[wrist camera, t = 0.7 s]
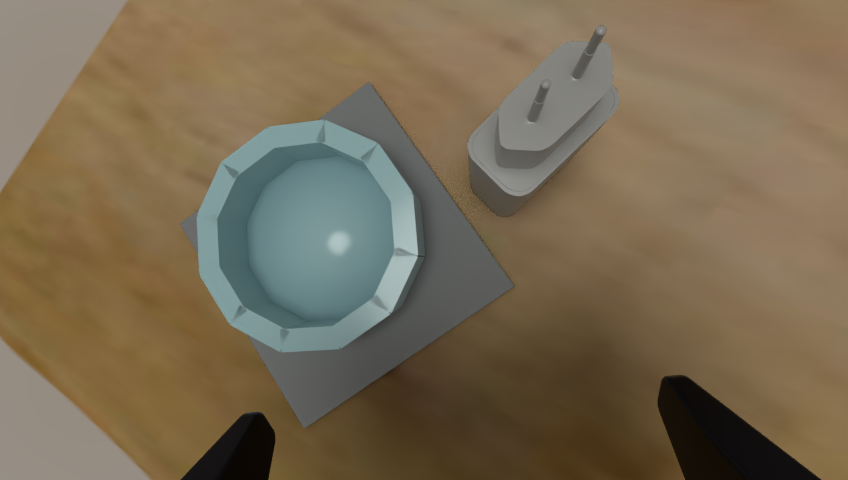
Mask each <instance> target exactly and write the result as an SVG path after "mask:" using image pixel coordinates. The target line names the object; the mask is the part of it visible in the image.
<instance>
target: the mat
mask: <svg viewBox="0 0 848 480" xmlns="http://www.w3.org/2000/svg"><path fill="white" fill-rule="evenodd" d="M319 120H327V121H329V122H332V123H334V124H336V125H338V126H341V127H343V128H345V129H348V130H350V131H352V132H354V133H357V134H359V135H361V136H363V137H366V138H368V139H370V140H373V141H375V142H377V143H378V144H379V145H380V146H381V147H382V148H383V149H384V151H385V152H386V153H387V154H388V155H389V157H390V158H391V159H392V161H393V162H394V164H395V165H396V166H397V168H398V169H399V171H400V172H401V174H402V175H403V176H404V178H405V179H406V181H407V182H408V184H409V185H410V186H411V188H412V189H413V191H414V192H415V194H416V195H417V196H418V198H419V199H420V201H421V210H422V223H423V229H424V247H425V256H423V257H425V258H424V260H423V263H422V265H421V267H420V269H419V271H418V273H417V275H416V278H415V280H414V282H413V284H412V286H411V288H410V290H409V292H408V295H407V297H406V299H405V301H404V303H403V305H402V307H401V308H400V309H398V310H397V311H395V312H394V313H393V314H391V315H390V316H388V317H387V318H385V319H384V320H382V321H381V322H380V323H378V324H377V325H375V326H374V327H372V328H371V329H369V330H368V331H367V332H365V333H364V334H362V335H361V336H359V337H358V338H356V339H355V340H353V341H352V342H350V343H349V344H347V345H346V346H344V347H343V348H340V349H334V350H316V351H298V352H279V351H277V350H275V349H273V348H272V347H270V346H268V345H266V344H264V343H262V342H261V341H259V340H257V339H255V338H253V337H251V336H249V335H248V334H247V335H248V337H249V339H250V340H251V342H252V344H253V345H254V347H255V349H256V350H257V352H258V353H259V355H260V357H261V358H262V360H263V362H264V363H265V365H266V367H267V368H268V370H269V372H270V373H271V375H272V377H273V378H274V380H275V381H276V383H277V385H278V386H279V388H280V390H281V391H282V393H283V395H284V396H285V398H286V400H287V401H288V403H289V405H290V406H291V408H292V409H293V411H294V413H295V414H296V416H297V418H298V419H299V421H300V423H301V424H302V426H303V428H304V429H305V428H306V427H307V426H309V425H310V424H312V423H313V422H315V421H316V420H318V419H319V418H321V417H322V416H324V415H325V414H327V413H328V412H330V411H331V410H333V409H334V408H336V407H337V406H338V405H340V404H341V403H343V402H344V401H346V400H347V399H349V398H350V397H352V396H353V395H355V394H356V393H358V392H359V391H361V390H362V389H364V388H365V387H366V386H368V385H369V384H371V383H372V382H374V381H375V380H377V379H378V378H380V377H381V376H383V375H384V374H386V373H387V372H389V371H390V370H392V369H393V368H394V367H396V366H397V365H399V364H400V363H402V362H403V361H405V360H406V359H408V358H409V357H411V356H412V355H414V354H415V353H417V352H418V351H420V350H421V349H422V348H424V347H425V346H427V345H428V344H430V343H431V342H433V341H434V340H436V339H437V338H439V337H440V336H442V335H443V334H445V333H446V332H448V331H449V330H451V329H452V328H453V327H455V326H456V325H458V324H459V323H461V322H462V321H464V320H465V319H467V318H468V317H470V316H471V315H473V314H474V313H476V312H477V311H479V310H480V309H481V308H483V307H484V306H486V305H487V304H489V303H490V302H492V301H493V300H495V299H496V298H498V297H499V296H501V295H502V294H504V293H505V292H507V291H508V290H509V289H511V288H512V287H514V285H513V284H512V282H511V281H510V280H509V278H508V277H507V275H506V274H505V273H504V271H503V270H502V268H501V267H500V266H499V264H498V263H497V261H496V260H495V259H494V257H493V256H492V254H491V253H490V251H489V250H488V249H487V247H486V246H485V244H484V243H483V242H482V240H481V239H480V237H479V236H478V235H477V233H476V232H475V230H474V229H473V228H472V226H471V225H470V223H469V222H468V221H467V219H466V218H465V216H464V215H463V214H462V212H461V211H460V209H459V208H458V206H457V205H456V204H455V202H454V201H453V199H452V198H451V197H450V195H449V194H448V192H447V191H446V190H445V188H444V187H443V185H442V184H441V183H440V181H439V180H438V178H437V177H436V176H435V174H434V173H433V171H432V170H431V169H430V167H429V166H428V164H427V163H426V161H425V160H424V159H423V157H422V156H421V154H420V153H419V152H418V150H417V149H416V147H415V146H414V145H413V143H412V142H411V140H410V139H409V138H408V136H407V135H406V133H405V132H404V131H403V129H402V128H401V126H400V125H399V124H398V122H397V121H396V119H395V118H394V116H393V115H392V114H391V112H390V111H389V109H388V108H387V107H386V105H385V104H384V102H383V101H382V100H381V98H380V97H379V95H378V94H377V93H376V91H375V90H374V88H373V87H372V86H371V84H370V83H369V82H368V83H366V84H365V85H364V86H362V87H361V88H360V89H358V90H357V91H356V92H354V93H353V94H352V95H351V96H349V97H348V98H347V99H345V100H344V101H343V102H341V103H340V104H339V105H337V106H336V107H335V108H333V109H332V110H331V111H329V112H328V113H327V114H325V115H324V116H323V117H321V118H320V119H319ZM198 211H199V210H198ZM198 211H196V212H195V213H194V214H192V215H191V216H190V217H188V218H187V219H186V220H184V221H183V222H182V223H180V225H181V227H182V228H183V230H184V231H185V233H186V235H187V236H188V238H189V240H190V241H191V243H192V245H193V246H194V248H195V250H196V251H197V253H198V236H197V216H198V215H197V214H198Z"/></svg>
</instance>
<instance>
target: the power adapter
mask: <svg viewBox="0 0 848 480" xmlns="http://www.w3.org/2000/svg"><path fill="white" fill-rule="evenodd" d="M605 33H606V27H605V26H603V25H600V26H598V27H597V28H596V30H595V32H594V34H593V36H592V38H591V40H590V41H589V42H579V41H572V42H567V43H565V44H563V45H561V46H559V47H558V48H557V49H555V50H554V51H553V52H552V53H551V54H550V55H549V56H548V57H547V58H546V59H545V60H544V61H543V62H542V63H541V64H540V65H539V66H538V67H537V68H536V69H535V70H534V71H533V72H532V73H531V74H530V75H529V76H528V77H527V78H526V79H525V80H524V81H523V82H522V83H521V84H520V85H518V86H517V87H516V88H515V89H514V90H513V91H512V92H511V93H510V94H509V95H508V96H507V97H506V99H505V100H504V101H503V102H502V104H501V106H500V107H499V108H498V109H497V110H496V111H495V112H494V113H492V114H491V115H490V116H489V117H488V118H487V119H486V120H485V121H484V122H483V123H482V124H481V125H480V126H479V127H478V128H477V129H476V130H475V131H474V132H473V134H472V135H471V137H470V139H469V141H468V158H469V171H470V184H471V188H472V190H473V192H474V193H475V194H476V195H477V196H478V197H479V198H480V199H481V200H482V201H483V202H484V203H485V204H486V205H487V206H488V207H489V208H490V209H491V210H492V211H493V212H494V213H495V214H496V215H498V216H501V217H509V216H511V215H513V214H514V213H515V212H516V211H518V210H519V209H520V208H521V207H522V206H523V205H524V204H525V203H526V202H527V201H528V200H529V199H530V198H531V197H532V196H533V195H534V194H535V193H536V192H538V191H539V190H540V189H541V188H542V187H543V186H544V185H545V184H546V183H547V182H548V181H549V180H550V179H551V178H552V177H553V176H554V175H555V174H556V173H557V172H559V171H560V170H561V169H562V168H563V167H564V166H565V165H566V164H567V163H568V162H569V161H570V160H571V159H572V158H573V156H574V155H575V154H576V153H577V152H578V151H579V150H580V149H581V148H582V147H583V146H584V145H585V144H586V143H587V141H588V140H589V139H590V138H591V137H592V136H593V135H594V134H595V133H596V132H597V131H598V130H599V129H600V128H601V126H602V125H603V124H604V123H605V122H606V121H607V120H608V119H609V118H610V117H611V116H612V115H613V113H614V112H615V111H616V109H617V107H618V105H619V95H618V92H617V90H616V88H615V87H614V85H613V84H612V82H613V68H612V54H611V48H610V46H609V45H608V44H607V43H604V42H601V40H602V38H603V36H604V35H605Z"/></svg>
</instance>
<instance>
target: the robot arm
mask: <svg viewBox="0 0 848 480" xmlns="http://www.w3.org/2000/svg"><path fill="white" fill-rule="evenodd" d="M658 408H659V412H660V414H661V417H662V420H663V422H664V425H665V428H666V430H667V433H668V436H669V438H670V441H671V443H672V446H673V449H674V451H675V454H676V457H677V459H678V462H679V465H680V467H681V470H682V473H683V475H684V478H685V480H821V479H820V478H818V477H817V476H816V475H814V474H813V473H812V472H811V471H809V470H808V469H807V468H805V467H804V466H803V465H801V464H800V463H799V462H798V461H796V460H795V459H794V458H792V457H791V456H790V455H788V454H787V453H786V452H785V451H783V450H782V449H781V448H779V447H778V446H777V445H775V444H774V443H773V442H772V441H770V440H769V439H768V438H766V437H765V436H764V435H762V434H761V433H760V432H759V431H757V430H756V429H755V428H753V427H752V426H751V425H749V424H748V423H747V422H746V421H744V420H743V419H742V418H740V417H739V416H738V415H736V414H735V413H734V412H733V411H731V410H730V409H729V408H727V407H726V406H725V405H723V404H722V403H721V402H720V401H718V400H717V399H716V398H714V397H713V396H712V395H710V394H709V393H708V392H707V391H705V390H704V389H703V388H701V387H700V386H699V385H697V384H696V383H695V382H694V381H692V380H691V379H690V378H688V377H686V376H684V375H673V376H665V377H664V378H663V379H662V381H661V386H660V391H659V396H658ZM274 445H275V432H274V430H273V428H272V427H271V425H270V424H269V422H268V420H267V419H266V417H265V416H264V414H263V413H261V412H252V413H245V414H243V415H242V416H241V417H240V418H239V419H238V420H237V421H236V422H235V423H234V424H233V425H232V426H231V427H230V428H229V429H228V430H227V431H226V432H225V433H224V434H223V435H222V437H221V438H220V439H219V440H218V441H217V442H216V443H215V444H214V445H213V446H212V447H211V448H210V449H209V450H208V451H207V452H206V453H205V454H204V456H203V457H202V458H201V459H200V460H199V461H198V462H197V463H196V464H195V465H194V466H193V467H192V468H191V469H190V470H189V471H188V472H187V473H186V475H185V476H184V477H183V478H182V479H181V480H268V478H269V473H270V467H271V462H272V456H273V451H274Z"/></svg>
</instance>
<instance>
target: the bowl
mask: <svg viewBox="0 0 848 480" xmlns="http://www.w3.org/2000/svg"><path fill="white" fill-rule="evenodd" d="M197 215H198V216H197V236H198V257H199V274H201V275H200V277H201V278H202V280H203V282H204V283H205V285H206V286H207V288H208V290H209V291H210V293H211V295H212V296H213V298H214V300H215V301H216V303H217V305H218V306H219V308H220V310H221V311H222V313H223V315H224V316H225V318H226V320H227V321H228V323H229V324H230V325H231V326H233V327H235V328H237V329H238V330H240V331H242V332H244V333H246V334H248V335H249V336H251V337H253V338H255V339H257V340H259V341H261V342H262V343H264V344H266V345H268V346H270V347H272V348H273V349H275V350H277V351H279V352H298V351H316V350H334V349H340V348H343V347H344V346H346V345H347V344H349V343H350V342H352V341H353V340H355V339H356V338H358V337H359V336H361V335H362V334H364V333H365V332H367V331H368V330H369V329H371V328H372V327H374V326H375V325H377V324H378V323H380V322H381V321H382V320H384V319H385V318H387V317H388V316H390V315H391V314H393V313H394V312H395V311H397V310H398V309H400V308H401V307H402V305H403V303H404V301H405V299H406V297H407V295H408V292H409V290H410V288H411V286H412V284H413V282H414V280H415V278H416V275H417V273H418V271H419V269H420V267H421V265H422V263H423V260H424V258H425V257H423V256H425V247H424V229H423V223H422V210H421V201H420V199H419V198H418V196H417V195H416V194H415V192H414V191H413V189H412V188H411V186H410V185H409V184H408V182H407V181H406V179H405V178H404V176H403V175H402V174H401V172H400V171H399V169H398V168H397V166H396V165H395V164H394V162H393V161H392V159H391V158H390V157H389V155H388V154H387V153H386V152H385V151H384V149H383V148H382V147H381V146H380V145H379V144H378V143H377V142H375V141H373V140H370V139H368V138H366V137H363V136H361V135H359V134H357V133H354V132H352V131H350V130H348V129H345V128H343V127H341V126H338V125H336V124H334V123H332V122H329V121H327V120H317V121H309V122H302V123H294V124H287V125H279V126H271V127H268V128H266V129H264V130H263V131H262V132H260V133H259V134H258V135H256V136H255V137H254V138H252V139H251V140H250V141H248V142H247V143H246V144H245V145H243V146H242V147H241V148H239V149H238V150H237V151H235V152H234V153H233V154H231V155H230V156H229V157H227V158H226V159H225V160H223V161H222V163H221V164H220V166H219V168H218V170H217V173H216V175H215V177H214V179H213V181H212V183H211V185H210V188H209V190H208V192H207V194H206V196H205V198H204V201H203V203H202V205H201V207H200V209H199V211H198V214H197Z"/></svg>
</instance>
